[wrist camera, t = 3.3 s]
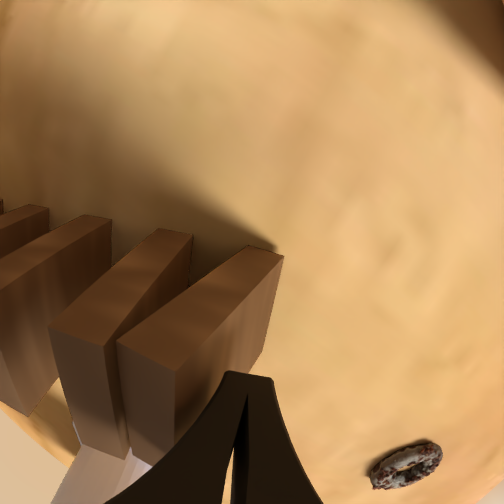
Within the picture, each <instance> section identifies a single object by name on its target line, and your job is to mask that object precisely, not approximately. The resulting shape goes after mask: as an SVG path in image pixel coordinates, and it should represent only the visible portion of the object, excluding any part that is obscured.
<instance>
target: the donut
mask: <svg viewBox="0 0 504 504" xmlns="http://www.w3.org/2000/svg"><path fill="white" fill-rule="evenodd" d="M442 456H443V453H442V450H441V447H440V446H438V445H436V444H433V443H429V444H425V445H419V446H412V447H406V448H404V449H401V450H398V451H396V452H394V454H393V455H392V456H390V457H389V458H386V459H385V458H384V459H382V460H381V461H380V462H379V463H378V464H377V465H376V466H375V467H374V468H373V469H372V470H371V475H370V477H369V478H370V481H371V483H372V485H373V489H374V490H375V489H381V488H384V489H385V490H388V489H396V488H401V487H406V486H408V485H411V484H413V483H416V482H417V481H419V480H421V479H423V478H424V477H425V476H428V475H430V473H432V472H434V470H435V469H436V467H437V466H438V465H439V464H440V461H441V460H442ZM419 462H420V463H419ZM417 463H419V464H418V465H416V466H413V467H412V468H410V469H409V470H406V471H402V472H398V473H397V471H398V470H399V469H401V468H403V467H404V466H411V465H412V464H417Z"/></svg>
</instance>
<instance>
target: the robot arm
mask: <svg viewBox="0 0 504 504" xmlns="http://www.w3.org/2000/svg"><path fill="white" fill-rule="evenodd" d="M72 424H73V427H74V429H75V432H76V435H77V437H78V440H79V442H80V445H81V448H80V450H79V452H78V453H77V455H76V457H75V459H74V461H73V462H72V464H71V466H70V468H69V470H68V472H67V474H66V476H65V477H64V479H63V481H62V483H61V485H60V487H59V489H58V491H57V493H56V495H55V496H54V498H53V500H52V502H51V504H221V503H222V497H223V491H224V485H225V479H226V473H227V468H228V465H229V462H230V458H231V455H232V451H233V448H234V454H233V469H232V485H231V500H230V504H323V502H322V501H321V499H320V497H319V496H318V494H317V493H316V491H315V489H314V487H313V486H312V484H311V482H310V480H309V479H308V477H307V475H306V473H305V471H304V469H303V467H302V465H301V463H300V460H299V458H298V456H297V454H296V452H295V449H294V447H293V445H292V442H291V440H290V437H289V434H288V432H287V429H286V426H285V423H284V420H283V417H282V414H281V411H280V408H279V404H278V400H277V396H276V392H275V387H274V381H273V380H272V379H271V378H269V377H264V376H258V375H252V374H247V373H241V372H236V371H231V370H228V371H226V372H224V375H223V377H222V380H221V382H220V384H219V386H218V388H217V390H216V391H215V393H214V395H213V396H212V398H211V399H210V401H209V403H208V404H207V405H206V407H205V408H204V410H203V411H202V413H201V414H200V415H199V417H198V418H197V419H196V421H195V422H194V423H193V425H192V426H191V427H190V428H189V429H188V430H187V432H186V433H185V434H184V435H183V436H182V438H181V439H180V440H179V441H178V442H177V443H176V444H175V445H174V446H173V447H172V449H171V450H170V451H169V452H168V453H167V454H166V455H165V456H164V457H163V458H162V459H160V460H159V461H158V462H157V463H156V464H155V465H154V466H153V467H152V466H150V465H148V464H147V463H145V462H143V461H142V460H140V459H138V458H137V457H135V456H133V454H132V449H131V447H130V449H129V452H128V454H127V456H126V459H125V460H122V459H119V458H117V457H114V456H111V455H109V454H106V453H103V452H101V451H98V450H96V449H93V448H91V447H89V446H86V445H84V444H82V443H81V440H80V438H79V435H78V432H77V430H76V427H75V424H74V422H72Z"/></svg>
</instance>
